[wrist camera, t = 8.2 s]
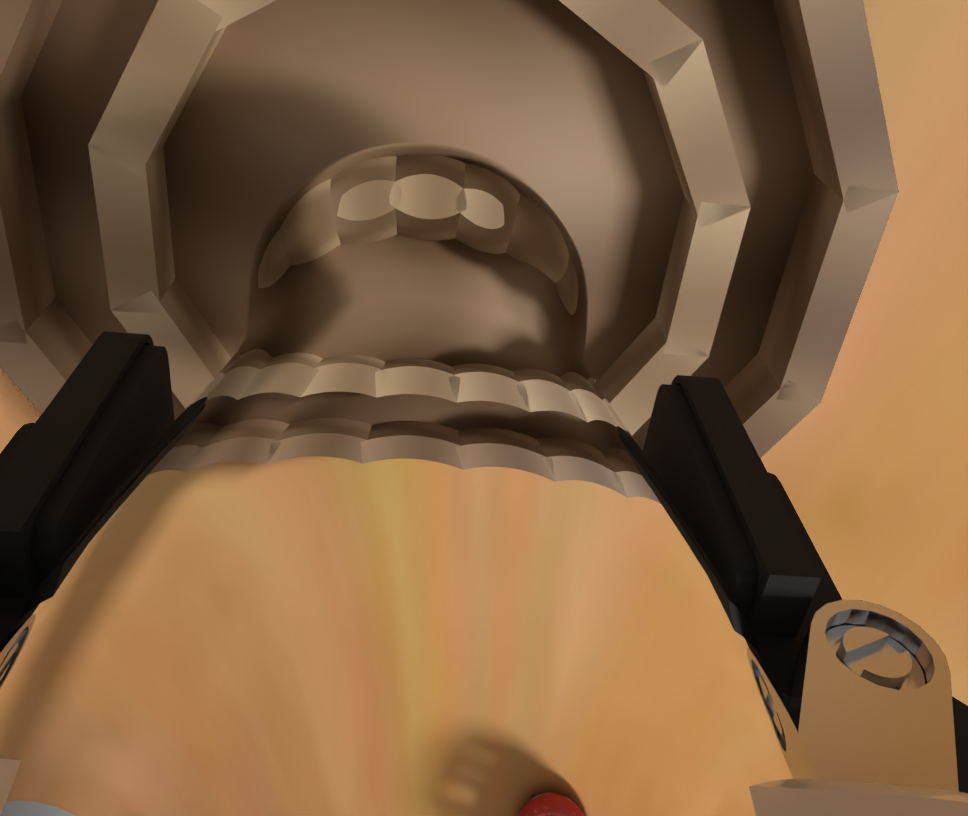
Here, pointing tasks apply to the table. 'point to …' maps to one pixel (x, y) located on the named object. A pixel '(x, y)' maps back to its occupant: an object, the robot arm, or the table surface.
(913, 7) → the table surface
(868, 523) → the table surface
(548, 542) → the beer glass
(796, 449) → the table surface
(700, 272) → the tray
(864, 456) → the table surface
